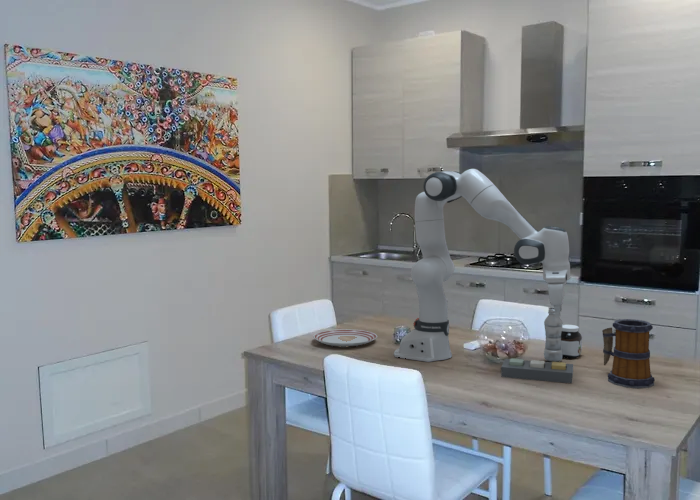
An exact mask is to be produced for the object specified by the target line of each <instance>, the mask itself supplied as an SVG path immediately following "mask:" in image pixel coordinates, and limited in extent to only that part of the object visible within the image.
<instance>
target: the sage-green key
mask: <svg viewBox="0 0 700 500" xmlns="http://www.w3.org/2000/svg"><path fill="white" fill-rule="evenodd" d="M509 359H510V361H509V365H513V366H523V365H524V360H525V359H524V358H514V357H513V358H509Z"/></svg>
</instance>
